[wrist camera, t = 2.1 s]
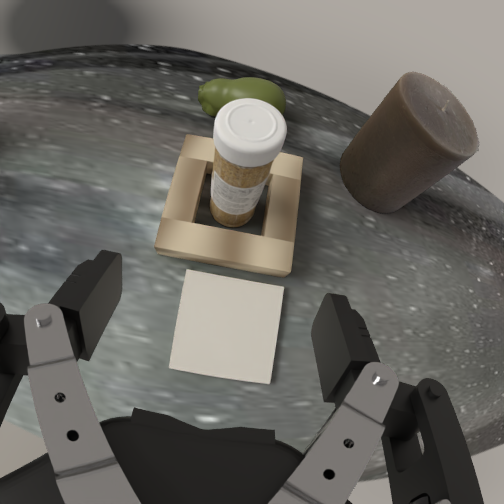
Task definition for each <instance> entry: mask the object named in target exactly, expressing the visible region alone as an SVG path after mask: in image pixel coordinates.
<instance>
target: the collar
mask: <svg viewBox="0 0 504 504" xmlns="http://www.w3.org/2000/svg"><path fill="white" fill-rule="evenodd" d="M214 154H215V145H214V139H213V138H207V137H201V136H195V135H188V134H187V135H186V138H185V141H184V144H183V147H182V150H181V153H180V156H179V159H178V162H177V166H176V169H175V172H174V175H173V179H172V182H171V186H170V189H169V193H168V196H167V200H166V203H165V207H164V210H163V214H162V218H161V222H160V225H159V229H158V233H157V237H156V241H155V245H154V247H155V249H156V251H157V253H158V254H160V255H165V256H170V257H175V258H180V259H186V260H191V261H196V262H201V263H206V264H212V265H217V266H222V267H228V268H233V269H238V270H244V271H249V272H255V273H260V274H266V275H271V276H277V277H283V278H284V277H285V276H287V275H288V274H289V273H291V267H292V258H293V250H294V241H295V232H296V223H297V214H298V204H299V194H300V184H301V173H302V162H303V157H299V156H294V155H290V154H286V153H282V152H280V153H279V154H278V156H277V157H276V158H275V159H274V161H273V163H272V166H271V170H270V173H269V176H268V178H267V181H266V183H265V185H267V186H268V192H267V199H266V206H265V212H264V219H263V226H262V232H261V236H259V235H254V234H249V233H243V232H238V231H233V230H228V229H223V228H217V227H212V226H207V225H201V224H196V223H195V219H196V215H197V211H198V206H199V202H200V198H201V194H202V190H203V186H204V182H205V178H206V174H212V172H213V162H214Z"/></svg>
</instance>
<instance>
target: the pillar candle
mask: <svg viewBox="0 0 504 504" xmlns="http://www.w3.org/2000/svg"><path fill="white" fill-rule="evenodd" d="M478 147H479V141H478V137H477V132H476V128H475V127H474V124H473V121H472V119H471V118H470V116H469V114H468V113H467V112H466V110H465V108H464V107H463V105H462V104H461V103H460V102H459V101H458V99H457V98H456V97H455V96H454V95H453V94H452V92H451V91H450V90H449V89H448V88H447V87H445V86H443V85H441V84H440V83H439V82H437V81H436V80H434V79H432V78H430V77H428V76H426V75H424V74H421V73H417V72H408V73H406V74H404V75H403V76H402V77H401V78H400V79H399V80H398V82H397V83H396V84H395V86H394V87H393V88H392V89H391V90H390V92H389V93H388V94H387V96H386V97H385V98H384V100H383V101H382V102H381V104H380V105H379V106H378V107H377V109H376V110H375V111H374V113H373V114H372V115H371V117H370V118H369V119H368V121H367V122H366V123H365V124H364V126H363V127H362V128H361V130H360V131H359V132H358V134H357V135H356V136H355V137H354V139H353V140H352V142H351V143H350V144H349V146H348V147H347V149H346V150H345V151H344V153H343V154H342V157H341V161H340V171H341V176H342V180H343V182H344V185H345V186H346V188H347V189H348V191H349V192H350V193H351V194H352V196H353V197H354V198H355V199H356V200H357V201H358V202H359V203H361V204H362V205H363V206H365V207H366V208H368V209H370V210H373V211H375V212H378V213H391V212H394V211H396V210H398V209H400V208H401V207H403V206H404V205H405V204H407V203H408V202H410V201H411V200H412V199H414V198H415V197H417V196H418V195H420V194H421V193H422V192H424V191H425V190H427V189H428V188H429V187H431V186H432V185H433V184H435V183H436V182H438V181H439V180H440V179H442V178H443V177H444V176H446V175H447V174H449V173H450V172H451V171H453V170H454V169H455V168H457V167H458V166H459V165H461V164H462V163H463V162H464V161H466V160H467V159H469V158H470V157H471V156H473V155H474V154H475V152H476V151H478Z"/></svg>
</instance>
